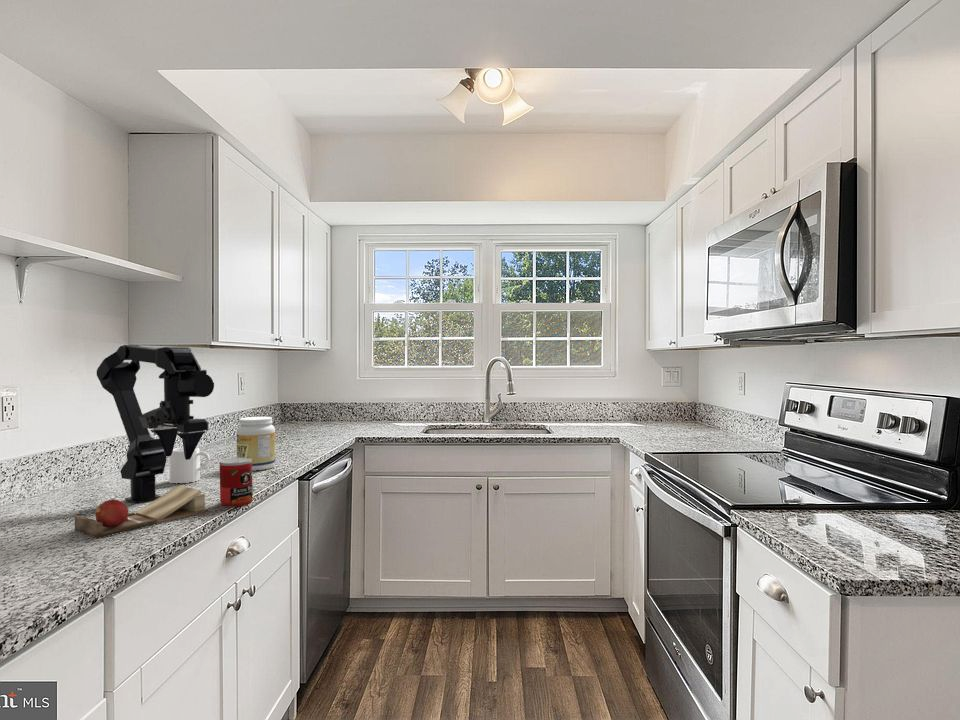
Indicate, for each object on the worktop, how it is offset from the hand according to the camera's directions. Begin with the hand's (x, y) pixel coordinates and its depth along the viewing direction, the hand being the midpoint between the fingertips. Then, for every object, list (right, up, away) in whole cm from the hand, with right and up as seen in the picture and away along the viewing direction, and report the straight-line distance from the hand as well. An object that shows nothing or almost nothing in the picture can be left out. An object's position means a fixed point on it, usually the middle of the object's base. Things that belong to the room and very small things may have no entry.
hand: (178, 457), depth 144 cm
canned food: (+14, -12, +1) cm, 19 cm away
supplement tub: (+1, -12, +48) cm, 49 cm away
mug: (-11, -12, +28) cm, 33 cm away
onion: (-4, -7, -24) cm, 26 cm away
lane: (-1, -12, -14) cm, 18 cm away
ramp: (+3, -12, -9) cm, 15 cm away
